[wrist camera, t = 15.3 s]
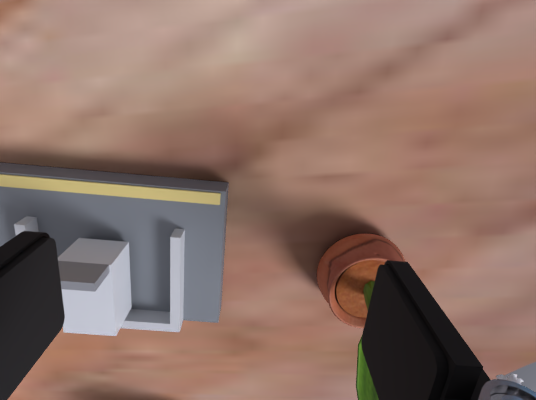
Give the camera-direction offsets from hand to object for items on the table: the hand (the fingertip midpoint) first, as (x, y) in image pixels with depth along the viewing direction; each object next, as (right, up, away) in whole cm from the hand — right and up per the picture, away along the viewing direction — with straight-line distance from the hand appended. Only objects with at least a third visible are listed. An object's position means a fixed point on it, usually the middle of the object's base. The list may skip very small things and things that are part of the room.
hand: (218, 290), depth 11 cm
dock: (-15, -2, +31) cm, 35 cm away
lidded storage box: (-16, -5, +29) cm, 33 cm away
